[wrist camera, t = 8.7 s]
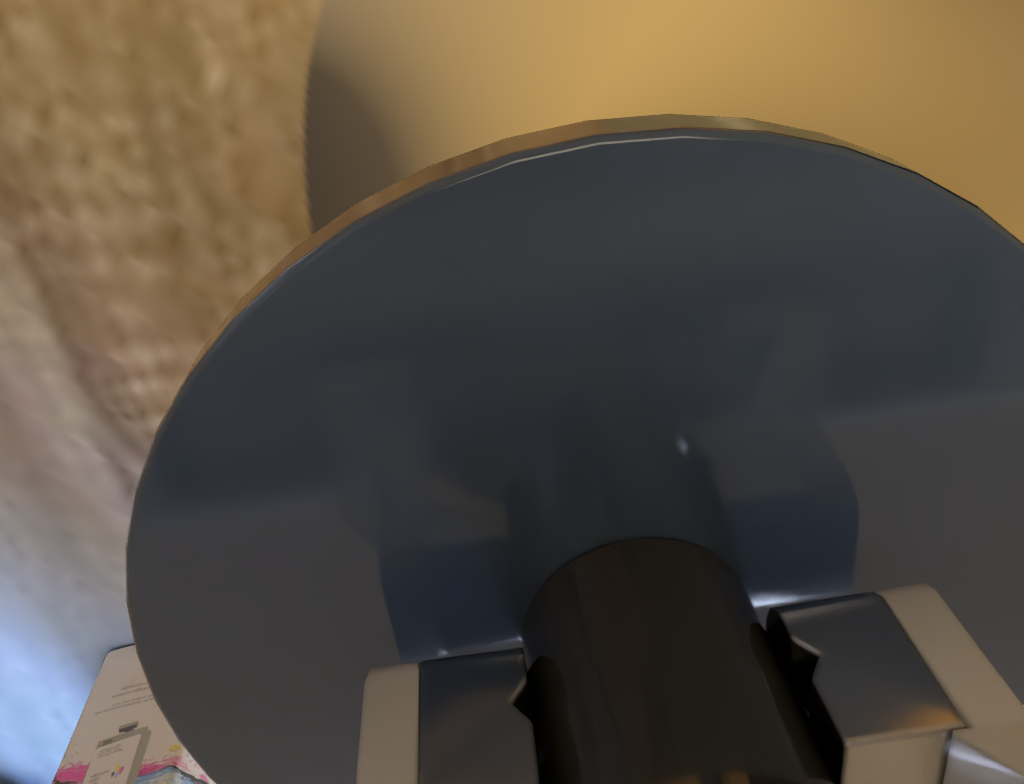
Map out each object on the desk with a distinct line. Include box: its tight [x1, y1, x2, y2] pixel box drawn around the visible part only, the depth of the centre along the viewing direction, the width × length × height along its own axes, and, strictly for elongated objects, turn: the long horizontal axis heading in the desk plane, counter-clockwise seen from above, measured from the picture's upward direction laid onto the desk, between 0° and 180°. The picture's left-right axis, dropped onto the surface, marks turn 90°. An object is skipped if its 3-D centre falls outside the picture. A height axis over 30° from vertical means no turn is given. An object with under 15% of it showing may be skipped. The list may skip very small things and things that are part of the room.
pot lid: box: [126, 114, 1024, 784], centre depth 8 cm, size 10×10×4 cm
